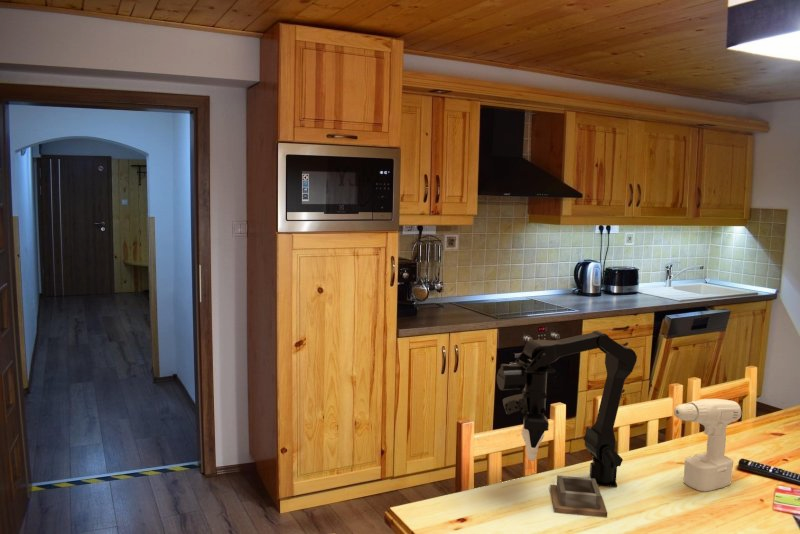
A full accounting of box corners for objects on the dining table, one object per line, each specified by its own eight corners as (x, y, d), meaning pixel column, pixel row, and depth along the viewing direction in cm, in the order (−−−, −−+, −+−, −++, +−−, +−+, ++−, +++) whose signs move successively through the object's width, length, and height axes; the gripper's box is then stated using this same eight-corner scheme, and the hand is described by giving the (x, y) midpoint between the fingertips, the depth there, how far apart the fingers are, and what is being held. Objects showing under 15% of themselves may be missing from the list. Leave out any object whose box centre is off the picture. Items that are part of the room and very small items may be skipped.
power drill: (657, 486, 180) (664, 400, 177) (715, 471, 191) (723, 390, 188) (682, 500, 173) (690, 410, 169) (742, 483, 183) (750, 399, 180)
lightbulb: (526, 466, 173) (528, 427, 171) (516, 456, 178) (518, 418, 177) (546, 464, 174) (549, 425, 173) (536, 454, 180) (538, 417, 178)
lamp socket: (598, 492, 175) (599, 476, 175) (607, 517, 163) (608, 499, 162) (550, 488, 177) (551, 472, 176) (554, 512, 164) (555, 494, 164)
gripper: (504, 375, 184) (502, 428, 186) (506, 397, 165) (503, 454, 168) (544, 378, 182) (541, 430, 184) (550, 400, 164) (546, 458, 166)
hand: (532, 443), depth 176 cm, fingers closed on lightbulb, 6 cm apart
